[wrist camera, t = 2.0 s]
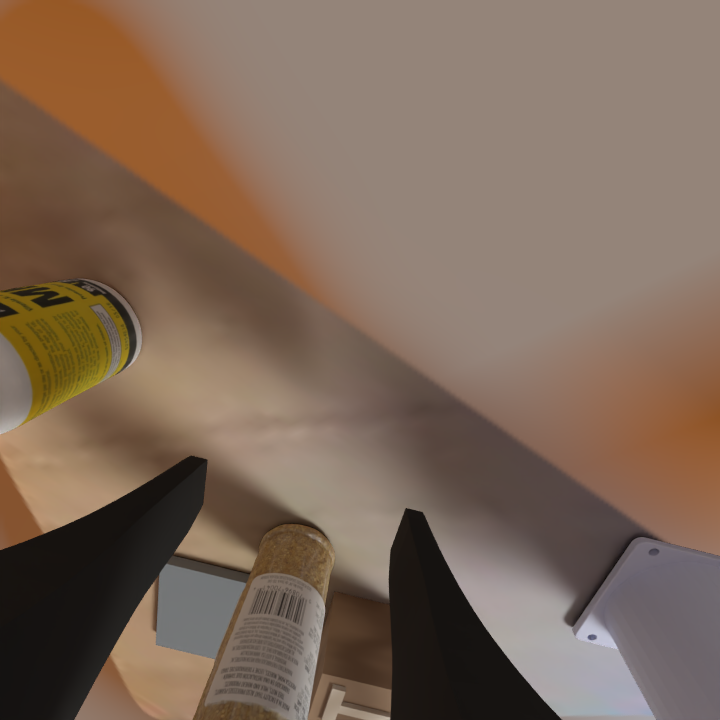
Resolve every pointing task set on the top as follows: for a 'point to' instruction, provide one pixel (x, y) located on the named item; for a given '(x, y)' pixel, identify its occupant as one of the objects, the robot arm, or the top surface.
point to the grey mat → (196, 605)
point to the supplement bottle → (60, 344)
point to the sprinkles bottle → (273, 632)
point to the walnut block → (353, 662)
